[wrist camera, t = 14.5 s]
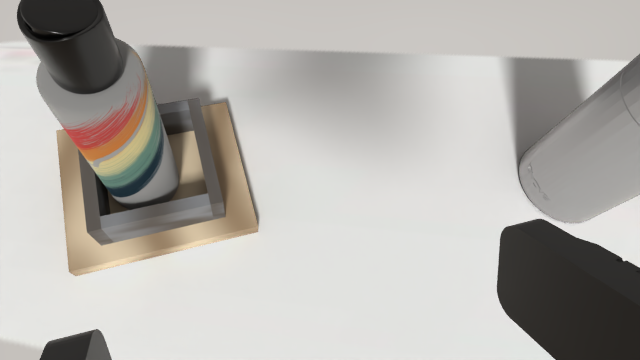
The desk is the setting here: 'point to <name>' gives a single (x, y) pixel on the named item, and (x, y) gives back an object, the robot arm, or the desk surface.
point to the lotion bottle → (101, 98)
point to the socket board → (165, 218)
